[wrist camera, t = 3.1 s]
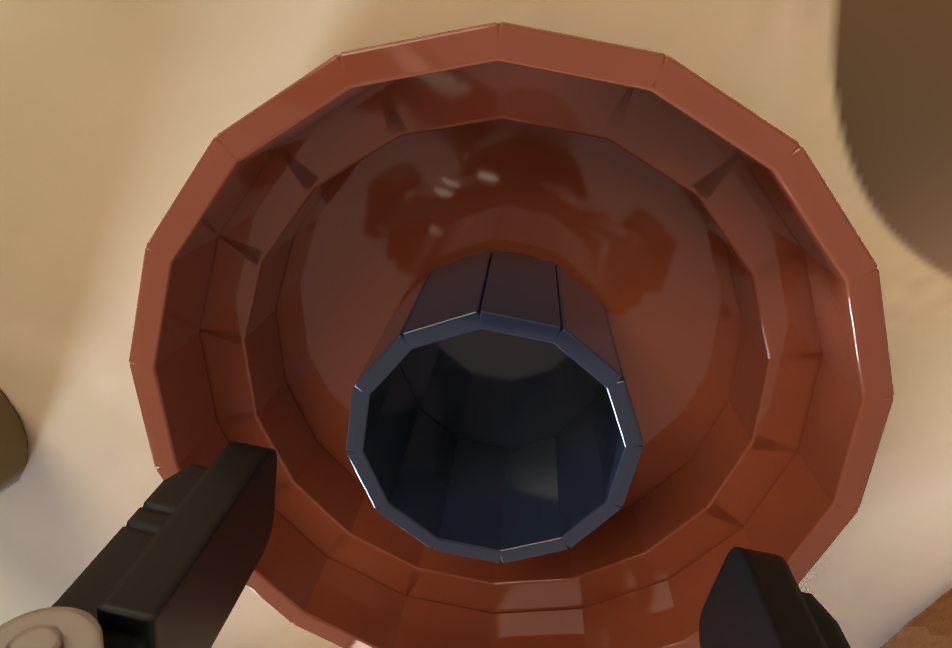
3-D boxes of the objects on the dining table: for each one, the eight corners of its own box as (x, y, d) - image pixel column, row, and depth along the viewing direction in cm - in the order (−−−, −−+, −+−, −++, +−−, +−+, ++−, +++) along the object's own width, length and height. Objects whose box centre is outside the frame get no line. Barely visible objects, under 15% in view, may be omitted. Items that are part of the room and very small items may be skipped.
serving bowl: (130, 362, 19) (17, 449, 15) (470, -138, 13) (440, -227, 9) (521, 634, 22) (518, 768, 18) (933, 327, 17) (1070, 420, 12)
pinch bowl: (380, 423, 19) (336, 530, 14) (407, 226, 16) (363, 287, 12) (582, 464, 19) (596, 584, 14) (641, 272, 16) (678, 350, 12)
